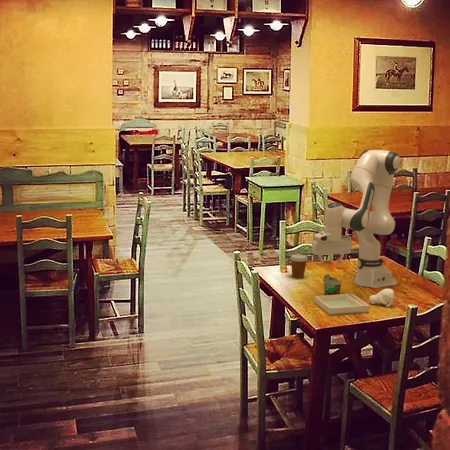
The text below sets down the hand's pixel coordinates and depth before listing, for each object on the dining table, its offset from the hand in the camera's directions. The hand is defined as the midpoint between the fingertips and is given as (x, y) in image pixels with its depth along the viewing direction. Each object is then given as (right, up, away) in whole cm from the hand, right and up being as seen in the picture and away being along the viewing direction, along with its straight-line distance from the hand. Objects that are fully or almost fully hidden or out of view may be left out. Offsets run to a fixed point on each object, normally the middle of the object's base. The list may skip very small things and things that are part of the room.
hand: (330, 262), depth 346 cm
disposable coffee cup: (-13, -10, +36) cm, 40 cm away
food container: (0, -18, +4) cm, 18 cm away
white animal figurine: (+24, -21, -6) cm, 32 cm away
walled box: (+3, -21, -12) cm, 24 cm away
